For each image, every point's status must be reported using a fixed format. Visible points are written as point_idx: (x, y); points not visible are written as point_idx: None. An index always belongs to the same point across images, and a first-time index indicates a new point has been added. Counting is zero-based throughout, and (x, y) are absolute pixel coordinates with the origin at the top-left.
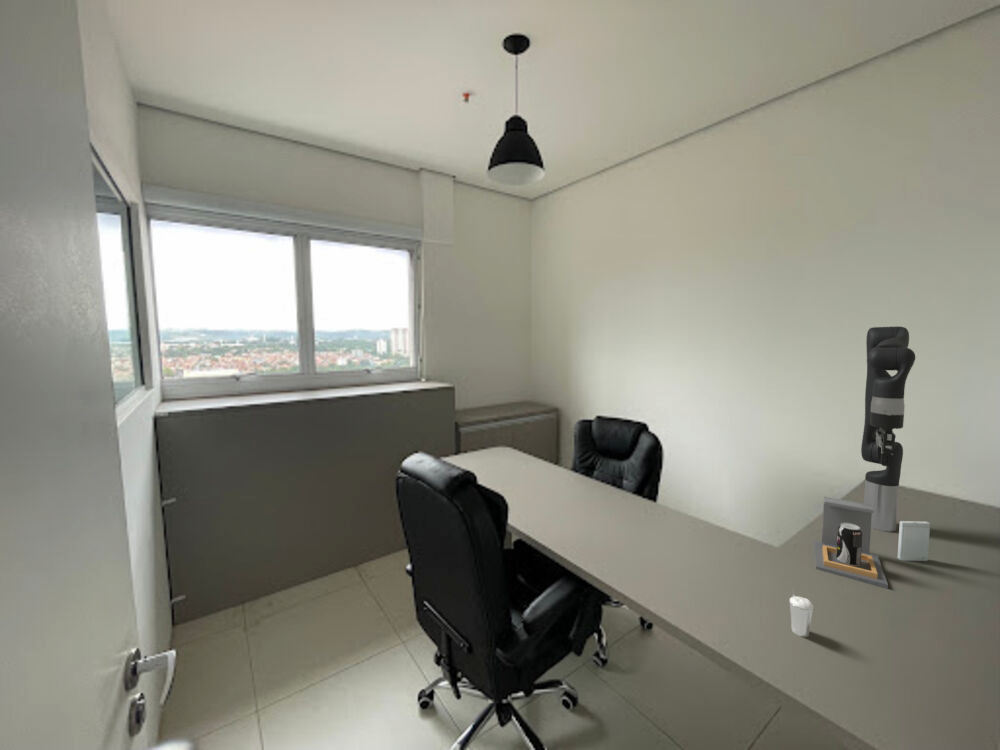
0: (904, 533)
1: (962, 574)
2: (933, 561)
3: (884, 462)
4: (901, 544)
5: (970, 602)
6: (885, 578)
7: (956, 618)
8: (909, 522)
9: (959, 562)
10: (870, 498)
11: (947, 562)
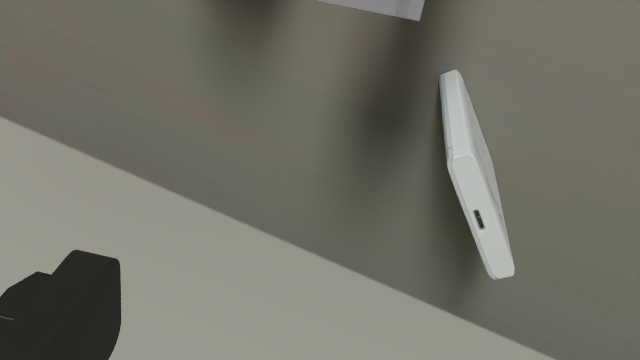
0: (444, 139)
1: (395, 229)
2: None
3: (2, 303)
4: (442, 103)
5: (180, 156)
6: None
7: (39, 69)
8: (468, 193)
9: None
10: None
11: None
